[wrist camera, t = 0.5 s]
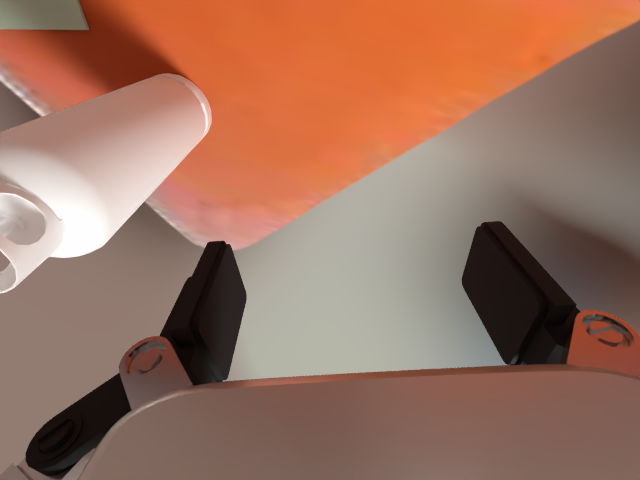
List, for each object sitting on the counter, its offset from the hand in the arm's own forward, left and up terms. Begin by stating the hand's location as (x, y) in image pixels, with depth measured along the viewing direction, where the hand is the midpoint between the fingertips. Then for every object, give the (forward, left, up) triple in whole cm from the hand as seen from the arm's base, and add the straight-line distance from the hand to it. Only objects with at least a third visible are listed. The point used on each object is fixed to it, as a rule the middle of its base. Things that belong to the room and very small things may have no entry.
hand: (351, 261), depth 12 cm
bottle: (+2, -18, -30) cm, 35 cm away
